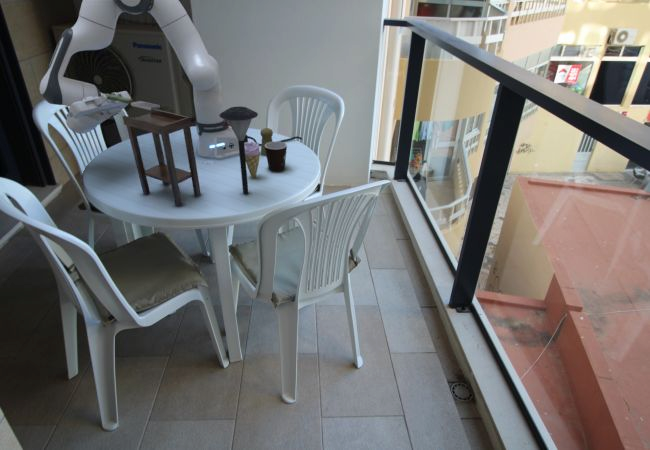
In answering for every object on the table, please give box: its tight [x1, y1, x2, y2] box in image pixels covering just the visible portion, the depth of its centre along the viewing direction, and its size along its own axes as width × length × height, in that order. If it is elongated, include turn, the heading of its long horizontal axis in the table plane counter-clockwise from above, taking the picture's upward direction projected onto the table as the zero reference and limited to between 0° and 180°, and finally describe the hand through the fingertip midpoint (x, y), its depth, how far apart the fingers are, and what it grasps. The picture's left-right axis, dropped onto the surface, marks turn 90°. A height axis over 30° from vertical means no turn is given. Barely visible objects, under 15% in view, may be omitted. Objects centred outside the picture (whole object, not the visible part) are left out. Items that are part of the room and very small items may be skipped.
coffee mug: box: [265, 140, 288, 173], centre depth 157 cm, size 12×9×10 cm
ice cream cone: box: [245, 140, 261, 179], centre depth 147 cm, size 7×6×15 cm
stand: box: [121, 109, 202, 208], centre depth 130 cm, size 18×11×28 cm, turn 61°
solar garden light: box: [219, 106, 259, 196], centre depth 132 cm, size 12×12×30 cm
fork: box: [101, 93, 161, 111], centre depth 126 cm, size 24×4×1 cm, turn 61°
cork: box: [260, 127, 274, 157], centre depth 169 cm, size 6×6×11 cm
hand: (111, 95), depth 129 cm, fingers closed on fork
